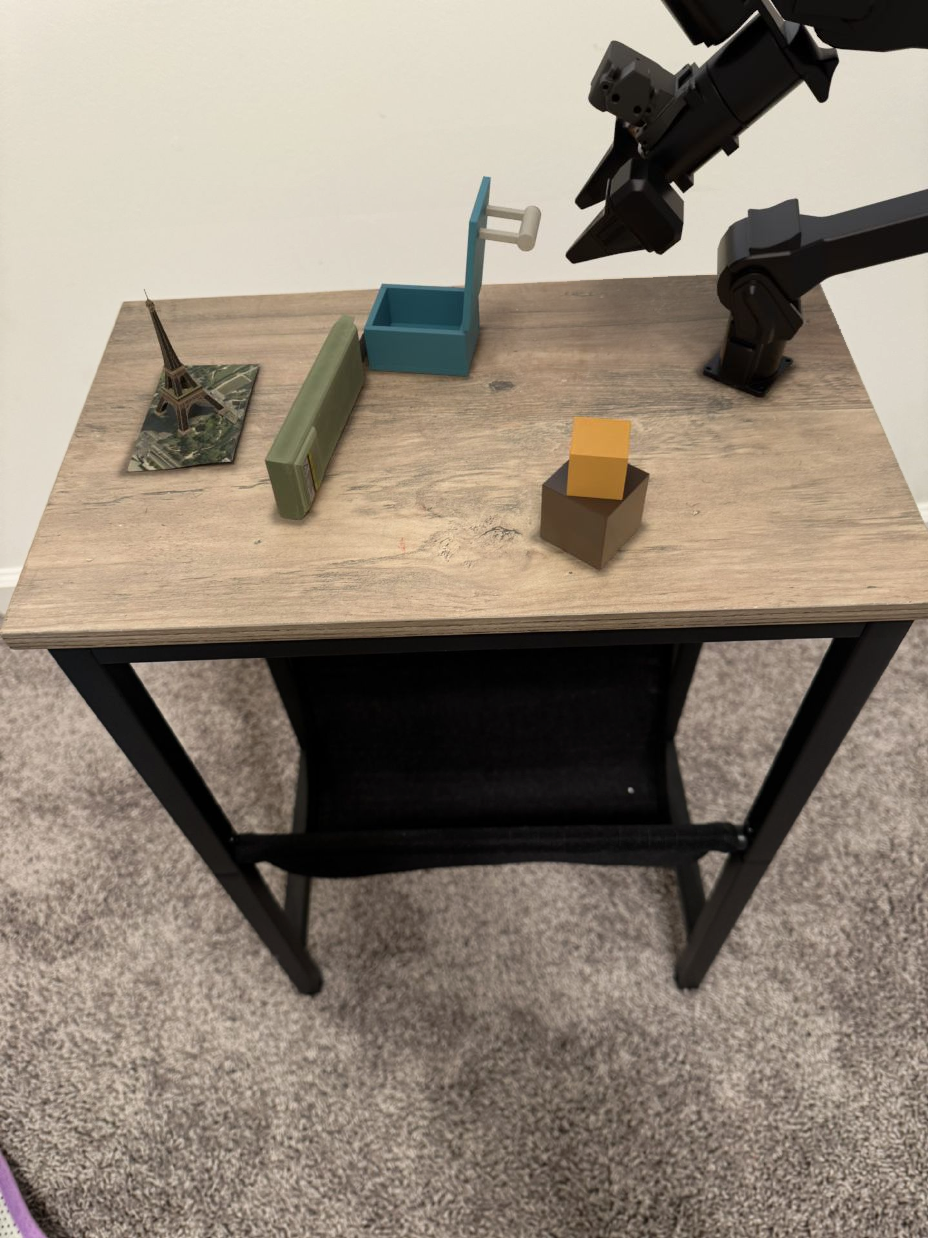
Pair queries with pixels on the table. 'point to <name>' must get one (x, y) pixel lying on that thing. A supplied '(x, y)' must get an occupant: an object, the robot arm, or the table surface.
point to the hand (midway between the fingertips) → (573, 231)
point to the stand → (591, 517)
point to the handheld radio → (316, 420)
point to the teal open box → (420, 330)
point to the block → (598, 458)
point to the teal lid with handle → (481, 234)
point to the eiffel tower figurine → (192, 411)
